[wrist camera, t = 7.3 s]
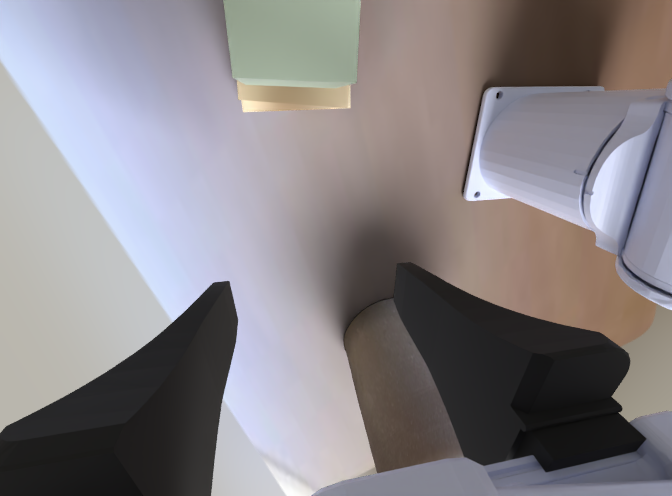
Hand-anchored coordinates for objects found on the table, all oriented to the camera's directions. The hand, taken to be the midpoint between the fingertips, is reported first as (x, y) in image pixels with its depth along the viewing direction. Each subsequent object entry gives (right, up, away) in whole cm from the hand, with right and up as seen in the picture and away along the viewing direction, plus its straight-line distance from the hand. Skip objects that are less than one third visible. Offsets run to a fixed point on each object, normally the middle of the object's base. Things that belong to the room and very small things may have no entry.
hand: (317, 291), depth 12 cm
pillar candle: (+6, -7, +17) cm, 19 cm away
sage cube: (-1, +11, 0) cm, 11 cm away
